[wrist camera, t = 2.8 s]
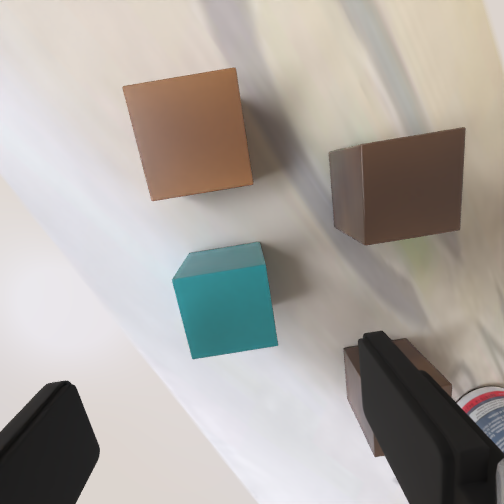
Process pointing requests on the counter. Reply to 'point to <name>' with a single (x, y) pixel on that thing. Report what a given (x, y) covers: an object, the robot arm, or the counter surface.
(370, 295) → the counter surface
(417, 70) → the counter surface
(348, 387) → the brown cube
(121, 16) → the counter surface
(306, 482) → the counter surface
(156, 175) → the caramel wooden cube
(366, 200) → the taupe block
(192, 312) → the teal toy cube
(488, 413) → the pill bottle
